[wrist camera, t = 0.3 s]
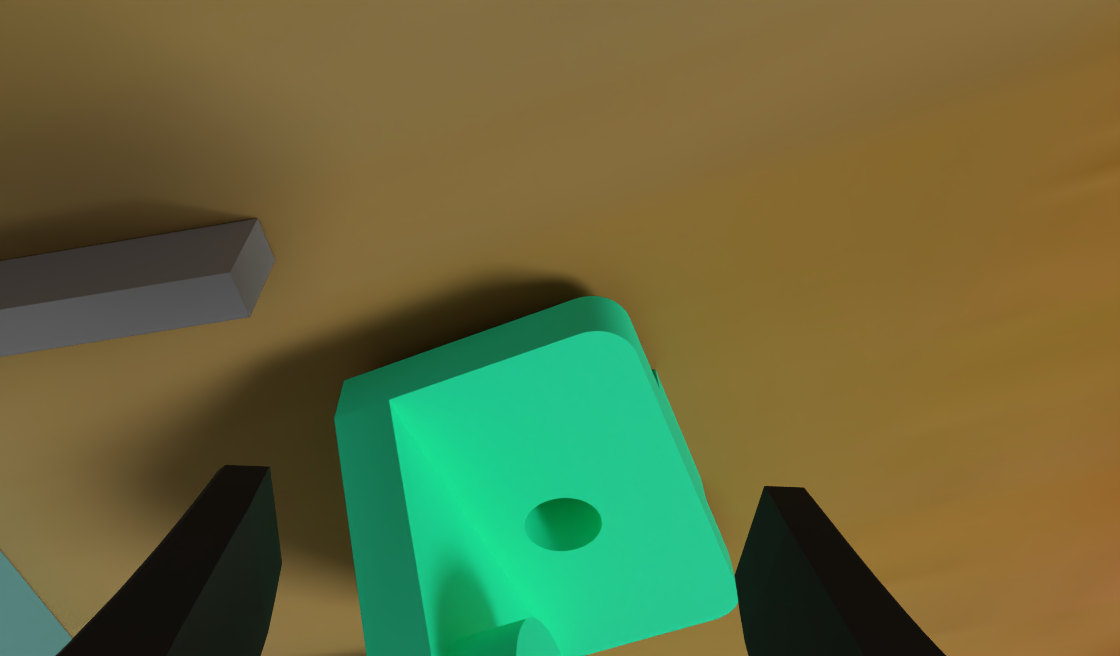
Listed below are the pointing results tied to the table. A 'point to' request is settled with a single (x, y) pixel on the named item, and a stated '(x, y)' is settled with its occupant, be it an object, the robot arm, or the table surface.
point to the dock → (117, 335)
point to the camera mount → (526, 495)
